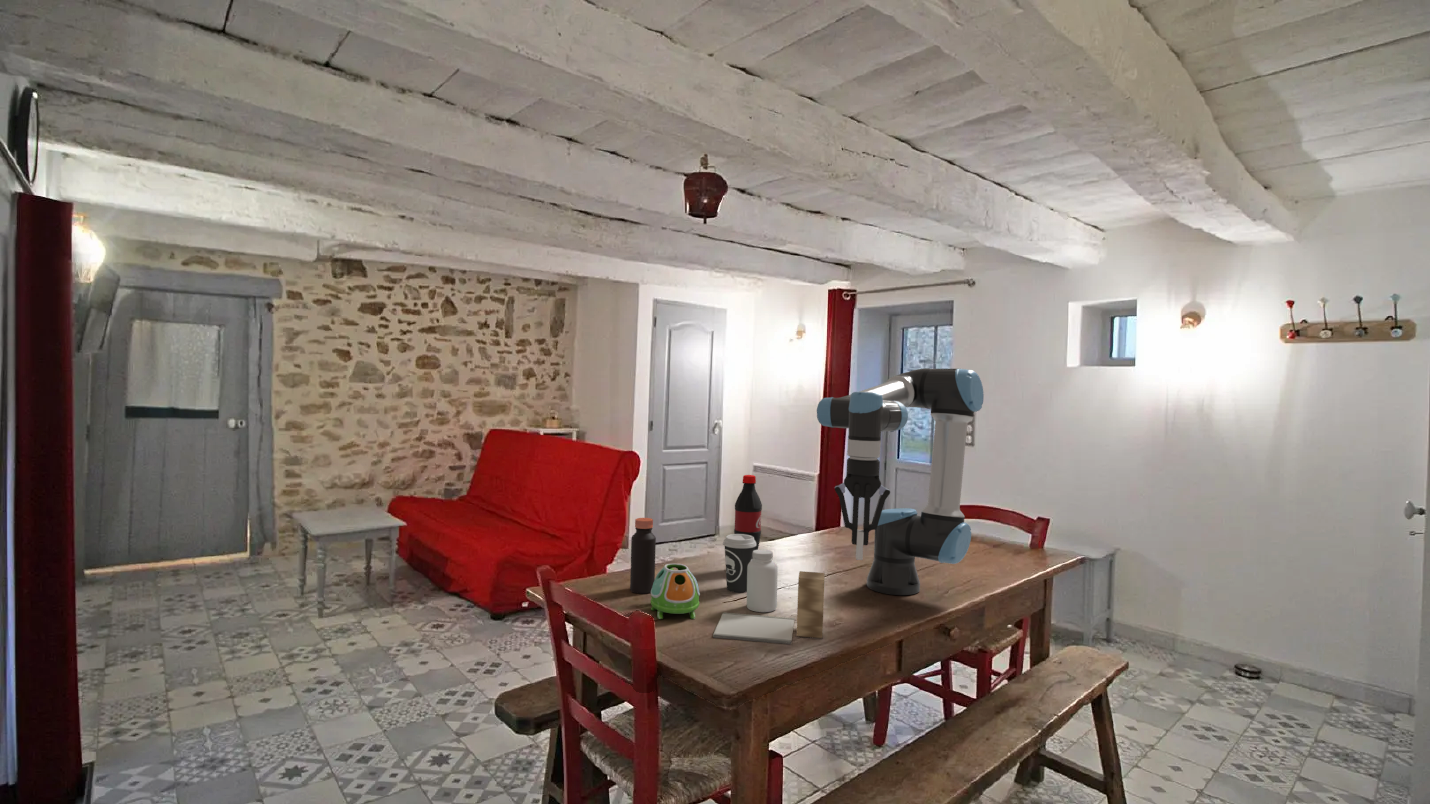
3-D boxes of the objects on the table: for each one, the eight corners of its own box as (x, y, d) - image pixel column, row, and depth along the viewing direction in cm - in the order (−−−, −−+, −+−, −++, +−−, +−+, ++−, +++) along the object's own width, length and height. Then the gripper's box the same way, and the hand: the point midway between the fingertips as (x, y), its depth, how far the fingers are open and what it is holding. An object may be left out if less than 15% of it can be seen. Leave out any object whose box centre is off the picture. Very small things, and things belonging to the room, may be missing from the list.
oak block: (822, 630, 175) (824, 572, 174) (822, 639, 169) (824, 579, 168) (797, 628, 176) (799, 571, 175) (796, 637, 170) (798, 577, 169)
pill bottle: (744, 603, 194) (746, 547, 193) (774, 603, 194) (775, 547, 194) (748, 613, 186) (750, 555, 185) (779, 613, 187) (781, 555, 186)
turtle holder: (687, 598, 197) (689, 554, 196) (705, 620, 179) (706, 572, 179) (642, 600, 194) (643, 556, 193) (655, 623, 176) (657, 575, 176)
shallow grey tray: (794, 620, 181) (794, 618, 181) (791, 644, 165) (791, 641, 165) (723, 615, 184) (723, 612, 184) (712, 637, 168) (713, 634, 168)
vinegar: (659, 590, 203) (661, 519, 202) (641, 595, 198) (643, 522, 197) (643, 585, 207) (645, 515, 206) (625, 590, 202) (626, 518, 201)
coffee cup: (752, 595, 201) (754, 541, 200) (718, 592, 202) (720, 539, 202) (757, 586, 210) (759, 534, 209) (724, 583, 212) (726, 532, 211)
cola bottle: (764, 570, 227) (767, 475, 226) (751, 576, 220) (754, 477, 219) (741, 565, 232) (744, 472, 231) (727, 571, 225) (730, 475, 224)
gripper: (890, 457, 172) (886, 556, 172) (835, 455, 174) (830, 552, 174) (893, 461, 164) (888, 564, 165) (835, 458, 166) (830, 560, 167)
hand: (859, 558), depth 170 cm, fingers closed
